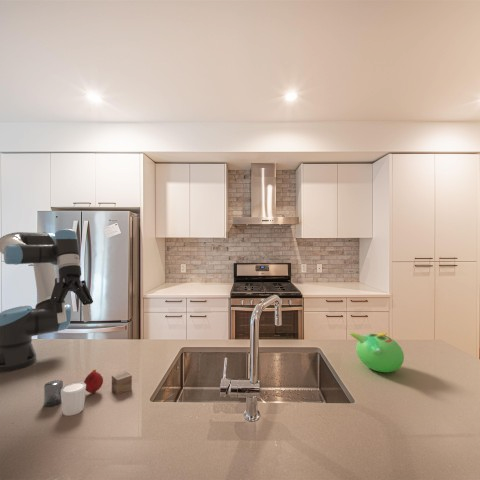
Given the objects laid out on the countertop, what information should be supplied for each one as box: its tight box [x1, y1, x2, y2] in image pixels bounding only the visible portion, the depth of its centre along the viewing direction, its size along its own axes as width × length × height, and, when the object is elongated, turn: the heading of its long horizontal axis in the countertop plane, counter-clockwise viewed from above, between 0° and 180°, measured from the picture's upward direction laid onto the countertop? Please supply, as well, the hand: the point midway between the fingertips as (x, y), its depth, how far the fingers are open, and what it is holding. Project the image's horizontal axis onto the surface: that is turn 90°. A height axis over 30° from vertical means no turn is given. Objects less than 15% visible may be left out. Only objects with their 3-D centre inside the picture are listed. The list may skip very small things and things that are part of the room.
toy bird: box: [349, 332, 405, 373], centre depth 117 cm, size 18×17×15 cm
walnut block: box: [111, 370, 133, 396], centre depth 101 cm, size 5×5×5 cm
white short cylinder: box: [61, 381, 87, 417], centre depth 88 cm, size 7×7×7 cm
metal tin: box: [43, 379, 64, 408], centre depth 92 cm, size 5×5×6 cm
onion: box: [83, 368, 104, 394], centre depth 98 cm, size 6×6×8 cm
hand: (75, 321), depth 106 cm, fingers open, 13 cm apart
